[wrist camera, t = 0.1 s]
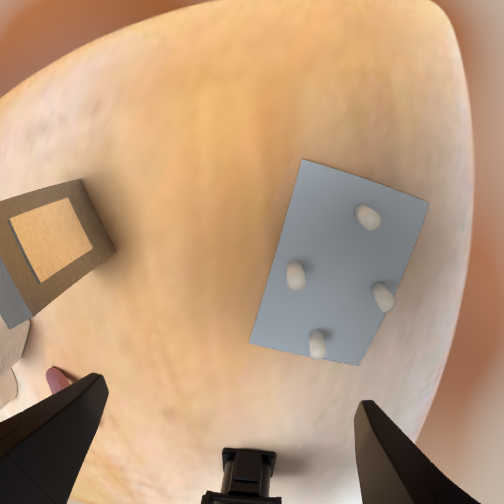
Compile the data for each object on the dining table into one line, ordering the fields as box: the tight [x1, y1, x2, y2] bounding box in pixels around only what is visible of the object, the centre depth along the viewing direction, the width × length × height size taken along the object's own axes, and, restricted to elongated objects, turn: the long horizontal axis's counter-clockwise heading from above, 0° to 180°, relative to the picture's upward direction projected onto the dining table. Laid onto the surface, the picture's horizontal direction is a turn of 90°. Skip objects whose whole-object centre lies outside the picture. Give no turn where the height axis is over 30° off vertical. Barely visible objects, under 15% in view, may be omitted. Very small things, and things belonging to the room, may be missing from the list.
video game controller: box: [46, 367, 70, 395], centre depth 29 cm, size 10×5×7 cm, turn 168°
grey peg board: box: [249, 159, 429, 366], centre depth 21 cm, size 15×10×3 cm, turn 166°
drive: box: [0, 179, 116, 330], centre depth 18 cm, size 7×4×11 cm, turn 25°
